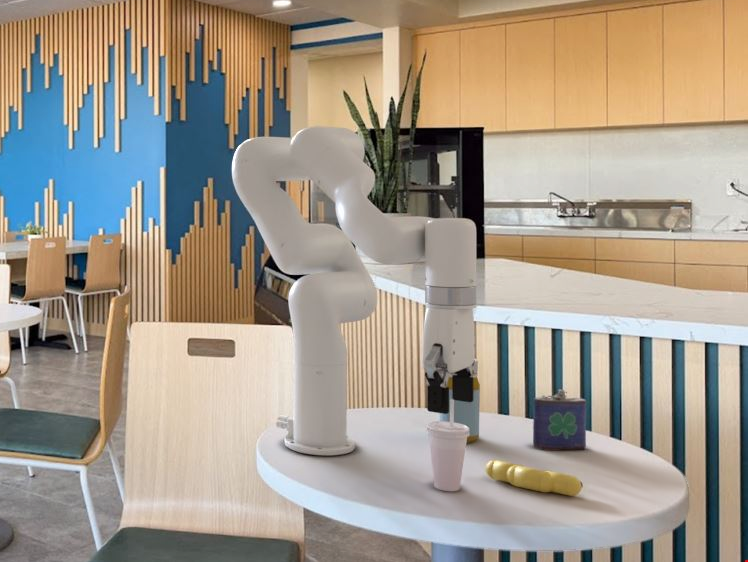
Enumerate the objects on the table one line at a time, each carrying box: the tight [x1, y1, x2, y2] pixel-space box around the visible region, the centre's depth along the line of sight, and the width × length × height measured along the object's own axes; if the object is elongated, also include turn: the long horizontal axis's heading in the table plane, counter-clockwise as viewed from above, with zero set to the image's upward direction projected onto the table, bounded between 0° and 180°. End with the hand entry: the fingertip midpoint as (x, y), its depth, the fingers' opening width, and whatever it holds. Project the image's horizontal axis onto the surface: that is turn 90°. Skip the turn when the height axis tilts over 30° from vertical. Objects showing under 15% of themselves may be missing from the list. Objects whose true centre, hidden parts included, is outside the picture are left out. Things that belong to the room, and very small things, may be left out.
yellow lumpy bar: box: [485, 459, 584, 497], centre depth 136 cm, size 14×4×3 cm, turn 48°
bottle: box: [438, 357, 481, 444], centre depth 163 cm, size 7×7×15 cm
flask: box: [532, 388, 587, 451], centre depth 157 cm, size 9×3×11 cm, turn 88°
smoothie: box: [425, 399, 470, 492], centre depth 136 cm, size 6×6×14 cm
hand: (450, 406), depth 135 cm, fingers open, 9 cm apart
